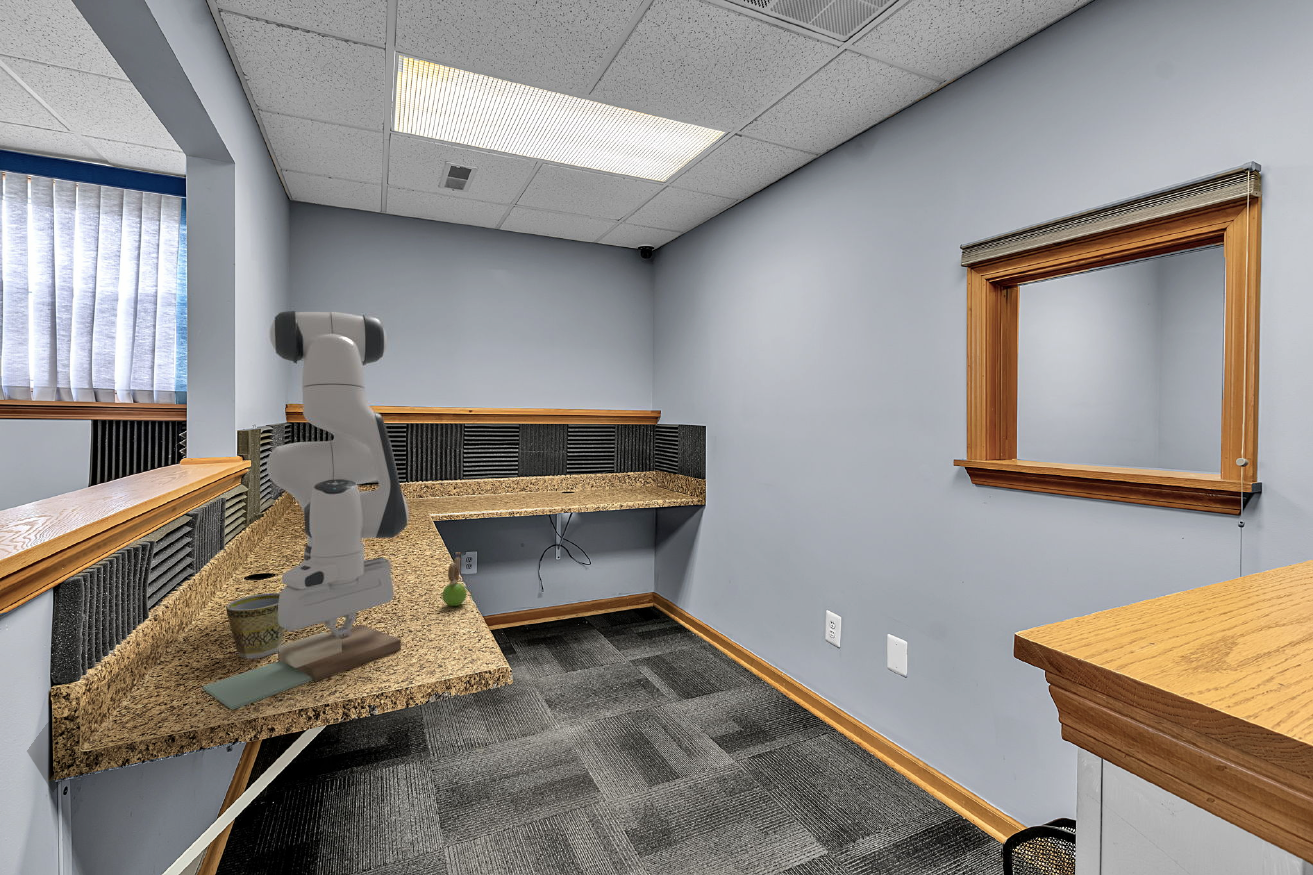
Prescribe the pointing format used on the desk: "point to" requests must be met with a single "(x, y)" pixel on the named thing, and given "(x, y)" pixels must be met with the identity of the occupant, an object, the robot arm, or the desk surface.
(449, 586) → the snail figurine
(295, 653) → the ash tile
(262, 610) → the ceramic cup
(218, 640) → the desk surface
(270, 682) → the rubber mat
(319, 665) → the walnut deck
